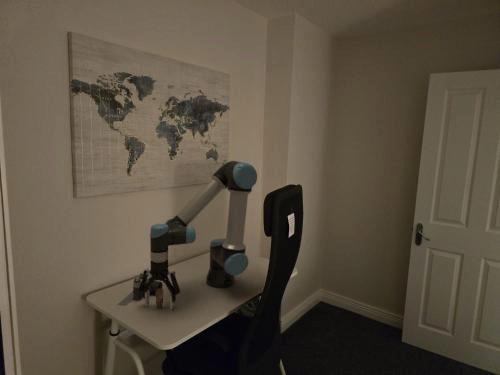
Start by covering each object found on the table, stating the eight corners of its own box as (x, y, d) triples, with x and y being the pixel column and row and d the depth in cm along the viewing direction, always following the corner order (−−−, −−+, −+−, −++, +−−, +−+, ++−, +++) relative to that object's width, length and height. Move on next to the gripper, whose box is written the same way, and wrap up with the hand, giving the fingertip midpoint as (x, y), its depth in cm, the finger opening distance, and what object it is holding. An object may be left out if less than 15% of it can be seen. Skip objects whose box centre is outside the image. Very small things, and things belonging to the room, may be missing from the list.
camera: (151, 302, 150) (150, 282, 149) (131, 299, 153) (130, 279, 151) (166, 288, 166) (166, 269, 164) (148, 285, 168) (148, 266, 166)
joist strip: (143, 288, 164) (143, 288, 164) (125, 305, 147) (125, 305, 147) (136, 288, 164) (136, 287, 164) (117, 304, 148) (117, 304, 148)
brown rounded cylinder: (164, 305, 148) (164, 289, 147) (161, 309, 145) (161, 292, 144) (157, 304, 149) (157, 288, 147) (154, 308, 145) (154, 291, 144)
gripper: (188, 259, 146) (187, 305, 149) (138, 254, 149) (138, 299, 152) (182, 265, 138) (181, 314, 141) (130, 260, 142) (130, 307, 145)
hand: (159, 306), depth 147 cm, fingers open, 11 cm apart
